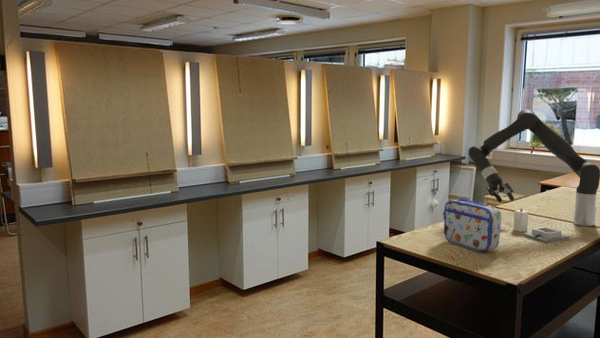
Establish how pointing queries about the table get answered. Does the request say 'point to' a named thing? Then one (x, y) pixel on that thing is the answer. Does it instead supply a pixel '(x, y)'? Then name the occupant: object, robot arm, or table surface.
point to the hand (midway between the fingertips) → (506, 200)
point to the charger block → (520, 220)
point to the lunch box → (472, 224)
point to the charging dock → (546, 235)
